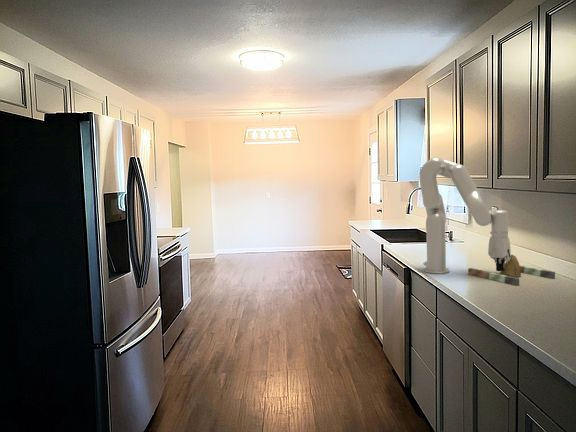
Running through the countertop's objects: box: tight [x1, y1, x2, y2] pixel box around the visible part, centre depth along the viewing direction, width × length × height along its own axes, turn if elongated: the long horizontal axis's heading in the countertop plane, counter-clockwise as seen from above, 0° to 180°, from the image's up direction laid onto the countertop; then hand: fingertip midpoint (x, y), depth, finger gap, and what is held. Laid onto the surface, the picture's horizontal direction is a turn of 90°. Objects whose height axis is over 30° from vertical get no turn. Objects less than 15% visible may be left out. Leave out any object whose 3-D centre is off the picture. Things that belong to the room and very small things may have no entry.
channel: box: [467, 262, 556, 287], centre depth 218 cm, size 28×26×3 cm
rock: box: [499, 254, 522, 278], centre depth 220 cm, size 11×9×10 cm
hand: (499, 270), depth 223 cm, fingers closed
